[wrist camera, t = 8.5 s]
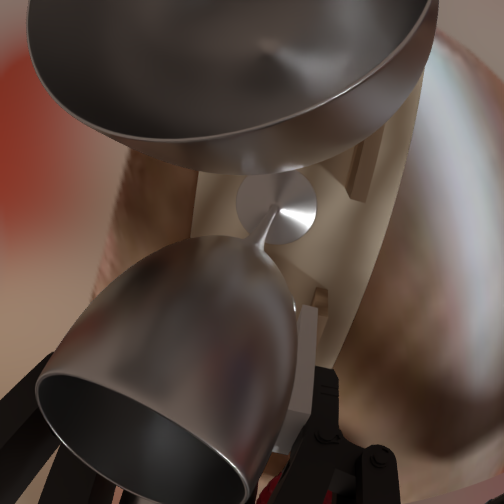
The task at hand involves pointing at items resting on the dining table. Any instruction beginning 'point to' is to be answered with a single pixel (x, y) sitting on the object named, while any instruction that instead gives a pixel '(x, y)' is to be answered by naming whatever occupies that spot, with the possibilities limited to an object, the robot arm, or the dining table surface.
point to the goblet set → (212, 246)
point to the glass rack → (328, 224)
